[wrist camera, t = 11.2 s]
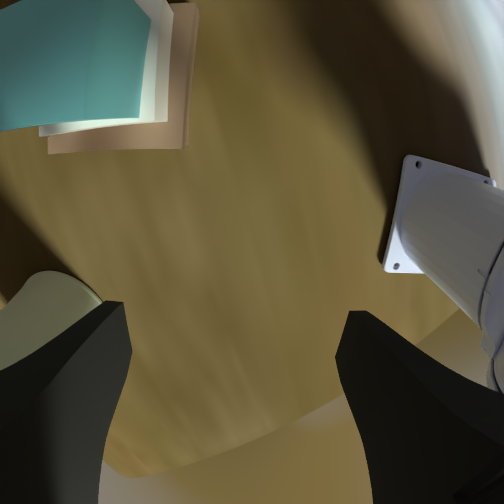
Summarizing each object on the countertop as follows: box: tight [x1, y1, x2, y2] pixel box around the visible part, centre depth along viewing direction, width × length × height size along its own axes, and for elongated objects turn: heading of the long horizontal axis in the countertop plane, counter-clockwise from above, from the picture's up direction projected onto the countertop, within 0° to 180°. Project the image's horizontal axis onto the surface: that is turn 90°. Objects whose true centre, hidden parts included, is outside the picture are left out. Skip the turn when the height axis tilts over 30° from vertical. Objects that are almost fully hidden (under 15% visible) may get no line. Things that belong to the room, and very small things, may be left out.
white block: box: [39, 0, 174, 137], centre depth 11 cm, size 6×6×2 cm
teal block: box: [0, 0, 151, 132], centre depth 7 cm, size 4×4×5 cm
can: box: [0, 271, 103, 370], centre depth 14 cm, size 9×9×12 cm
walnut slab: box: [48, 2, 200, 154], centre depth 13 cm, size 8×8×2 cm
